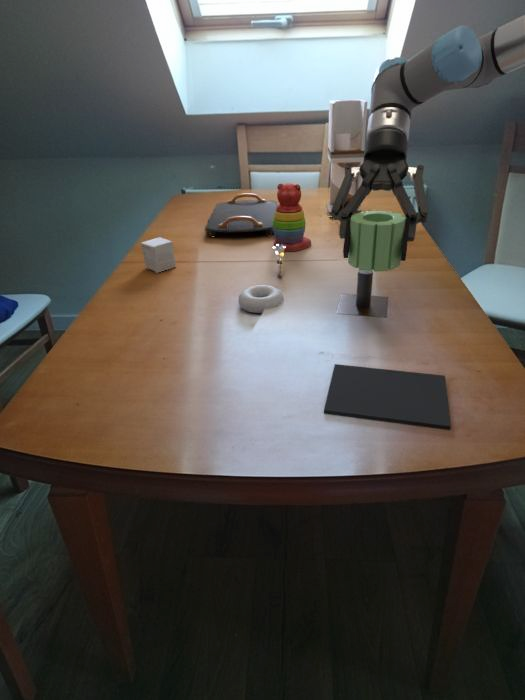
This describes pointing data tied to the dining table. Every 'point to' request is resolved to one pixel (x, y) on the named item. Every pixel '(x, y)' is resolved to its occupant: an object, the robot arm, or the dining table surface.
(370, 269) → the sage ring
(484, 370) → the dining table surface
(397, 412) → the rubber mat
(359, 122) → the spiral ramp tower
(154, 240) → the product box
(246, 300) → the donut
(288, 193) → the stacking bear
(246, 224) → the serving tray
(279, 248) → the ring
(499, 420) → the dining table surface
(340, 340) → the dining table surface
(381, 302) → the stacking stand
